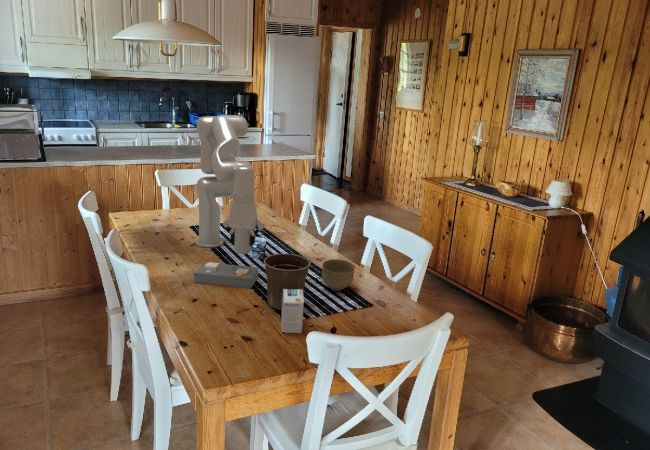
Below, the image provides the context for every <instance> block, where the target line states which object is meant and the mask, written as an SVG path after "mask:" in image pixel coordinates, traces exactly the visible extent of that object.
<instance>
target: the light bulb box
mask: <svg viewBox="0 0 650 450" xmlns="http://www.w3.org/2000/svg"><path fill="white" fill-rule="evenodd" d="M304 299H305V298H304V292H303V290H301V289H283V298H282V310H281V317H280V318H281V320H280V321H281V328H280V329H281V331H280V332H281V333H282V332H285V333H287V334H302V330H303V321H304V320H303V316H304V304H305V301H304ZM285 333H284V334H285Z"/></svg>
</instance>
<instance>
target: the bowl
mask: <svg viewBox="0 0 650 450" xmlns="http://www.w3.org/2000/svg"><path fill="white" fill-rule="evenodd" d="M321 270H322V271H321V279H322V281H323V282H324V284H325V285H326V286H328V287H329V288H330V289H331V290H332V291H342V290H344V289H345V288H347V287H349V286H350V285H352V283H353V281H354V276H355V275H354V274H355V270H356V266H355V264H354V263H352V262H351V261H348V260H344V259H337V258H335V259H334V258H333V259H327V260H324V261H323V263H322V269H321Z"/></svg>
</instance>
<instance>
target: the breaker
mask: <svg viewBox="0 0 650 450" xmlns="http://www.w3.org/2000/svg"><path fill="white" fill-rule="evenodd" d="M219 264H220V262H212V261H211V262H210V261H209V262H208V263H207V264H206V265H205V270H211V271H217V270H218V269H219Z"/></svg>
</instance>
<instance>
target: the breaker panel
mask: <svg viewBox="0 0 650 450" xmlns="http://www.w3.org/2000/svg"><path fill="white" fill-rule="evenodd" d="M207 263H208V262H205V261H204V262H203V263H202V264H201V265H200V266H199V267H198V268H196V270H195V272H193V275H194V278H193V283H195V284H205V285H214V286H224V287H231V288H232V287H233V288H241V289H252V288H253V286H254V284H255V283H256V282H257V279H258V278H259V267H258V266H257V267H256V266H247V265H245V266H244V265H237V264H228V263H227V264H226V263H219V269H218V270H217V271H211V270H205V265H206V264H207ZM238 268H239V269H249V272H248V274H247V275H245V274H242V273H237V274H236V273H235V272H236V271H237V269H238Z"/></svg>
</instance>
